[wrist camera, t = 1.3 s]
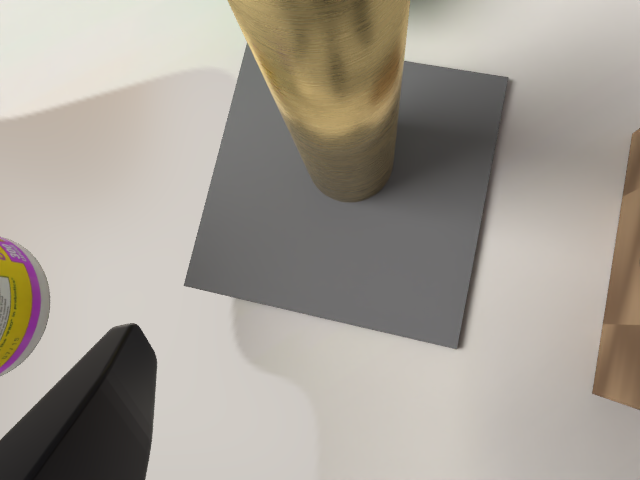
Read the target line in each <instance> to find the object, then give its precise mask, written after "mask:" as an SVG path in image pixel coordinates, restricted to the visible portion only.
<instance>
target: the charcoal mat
mask: <svg viewBox="0 0 640 480" xmlns="http://www.w3.org/2000/svg"><path fill="white" fill-rule="evenodd" d="M507 82H508V77H503V76H496V75H490V74H484V73H477V72H471V71H464V70H458V69H451V68H445V67H439V66H432V65H426V64H419V63H413V62H407V61H404V65H403V75H402V84H401V94H400V104H399V114H398V124H397V133H396V143H395V153H394V163H393V169H392V172H391V175H390V177H389V179H388V181H387V183H386V184H385V185H384V187H383V188H382V189H381V190H380V191H379V192H378V193H376V194H375V195H373V196H372V197H370V198H368V199H365V200H362V201H358V202H341V201H337V200H334V199H332V198H330V197H328V196H326V195H325V194H323V193H322V192H321V191H320V190H319V189H318V188H317V187H316V185H315V184H314V182H313V181H312V179H311V177H310V175H309V173H308V170H307V168H306V166H305V164H304V162H303V160H302V158H301V155H300V153H299V151H298V149H297V147H296V145H295V143H294V141H293V138H292V136H291V134H290V132H289V130H288V128H287V126H286V124H285V121H284V119H283V117H282V115H281V113H280V111H279V109H278V107H277V104H276V102H275V100H274V98H273V96H272V94H271V92H270V89H269V87H268V85H267V83H266V81H265V79H264V77H263V75H262V72H261V70H260V68H259V66H258V64H257V62H256V60H255V58H254V55H253V53H252V51H251V49H250V47H249V45H248V43H247V45H246V49H245V53H244V57H243V61H242V65H241V68H240V72H239V76H238V80H237V84H236V88H235V91H234V95H233V99H232V103H231V107H230V111H229V114H228V118H227V122H226V126H225V130H224V134H223V137H222V141H221V145H220V149H219V153H218V157H217V161H216V165H215V168H214V172H213V176H212V180H211V184H210V187H209V191H208V195H207V199H206V203H205V206H204V210H203V214H202V218H201V222H200V226H199V230H198V233H197V237H196V241H195V245H194V249H193V252H192V257H191V260H190V264H189V268H188V272H187V275H186V279H185V283H184V286H187V287H192V288H196V289H200V290H205V291H209V292H213V293H217V294H222V295H226V296H230V297H234V298H239V299H243V300H247V301H252V302H256V303H260V304H265V305H269V306H273V307H277V308H282V309H286V310H290V311H295V312H299V313H303V314H308V315H312V316H316V317H320V318H325V319H329V320H333V321H338V322H342V323H346V324H351V325H355V326H359V327H363V328H368V329H372V330H376V331H381V332H385V333H389V334H394V335H398V336H402V337H407V338H411V339H415V340H419V341H424V342H428V343H432V344H437V345H441V346H445V347H450V348H454V349H457V346H458V341H459V335H460V330H461V325H462V320H463V314H464V309H465V304H466V298H467V293H468V288H469V283H470V277H471V272H472V267H473V261H474V256H475V251H476V246H477V240H478V235H479V230H480V224H481V219H482V214H483V209H484V203H485V198H486V193H487V187H488V182H489V177H490V172H491V166H492V161H493V156H494V150H495V145H496V140H497V135H498V129H499V124H500V119H501V113H502V108H503V103H504V98H505V92H506V87H507Z"/></svg>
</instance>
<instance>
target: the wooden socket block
mask: <svg viewBox="0 0 640 480" xmlns="http://www.w3.org/2000/svg"><path fill="white" fill-rule="evenodd" d="M639 261H640V129H638V130H637V131H636V132H634V133H633V134H632V139H631V145H630V152H629V158H628V165H627V171H626V178H625V184H624V191H623V197H622V204H621V210H620V217H619V223H618V230H617V236H616V243H615V249H614V256H613V262H612V269H611V275H610V282H609V288H608V295H607V301H606V308H605V314H604V320H603V327H602V333H601V340H600V346H599V353H598V359H597V366H596V372H595V379H594V385H593V392H592V394H595V395H598V396H601V397H604V398H607V399H610V400H612V401H615V402H618V403H621V404H624V405H627V406H630V407H633V408H636V409H639V410H640V263H639Z"/></svg>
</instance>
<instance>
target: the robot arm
mask: <svg viewBox="0 0 640 480" xmlns="http://www.w3.org/2000/svg"><path fill="white" fill-rule="evenodd" d="M639 263H640V261H639ZM156 373H157V359H156V355H155V352H154V350H153V349H152V347H151V345H150V344H149V342H148V340H147V338H146V337H145V336H144V334H143V332H142V330H141V329H140V327H139V326H138V325H137V324H134V323H130V324H125V325H120V326H116V327H113V328H112V329H110V330H109V331H108V332H107V333H106V335H104V337H102V339H100V341H99V342H97V344H95V345H94V347H93V348H91V350H89V351H88V352H87V354H86V355H84V357H83V358H82V359H81V360H80V361H79V362H78V363H77V364H76V365H75V366H74V367H73V368H72V369H71V370H70V371H69V372H68V373H67V374H66V375H65V376H64V377H63V378H62V379H61V380H60V381H59V382H58V383H57V384H56V385H55V386H54V387H53V388H52V389H51V390H50V391H49V392H48V393H47V394H46V395H45V396H44V397H43V398H42V399H41V400H40V401H39V402H38V403H37V404H36V405H35V406H34V407H33V408H32V409H31V410H30V411H29V412H28V413H27V414H26V415H25V416H24V417H23V418H22V419H21V420H20V421H19V422H18V423H17V424H16V425H15V426H14V427H13V428H12V429H11V430H10V431H9V432H8V433H7V434H6V435H5V436H4V437H3V438H2V439H1V440H0V480H145V477H146V472H147V466H148V461H149V455H150V449H151V442H152V432H153V419H154V403H155V387H156Z"/></svg>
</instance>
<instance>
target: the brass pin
mask: <svg viewBox="0 0 640 480" xmlns="http://www.w3.org/2000/svg"><path fill="white" fill-rule="evenodd" d="M228 2H229V4H230V6H231V9H232V11H233V13H234V15H235V17H236V19H237V21H238V23H239V26H240V28H241V30H242V32H243V34H244V36H245V38H246V41H247V43H248V45H249V47H250V49H251V51H252V53H253V55H254V58H255V60H256V62H257V64H258V66H259V68H260V70H261V72H262V75H263V77H264V79H265V81H266V83H267V85H268V87H269V89H270V92H271V94H272V96H273V98H274V100H275V102H276V104H277V107H278V109H279V111H280V113H281V115H282V117H283V119H284V121H285V124H286V126H287V128H288V130H289V132H290V134H291V136H292V138H293V141H294V143H295V145H296V147H297V149H298V151H299V153H300V155H301V158H302V160H303V162H304V164H305V166H306V168H307V170H308V173H309V175H310V177H311V179H312V181H313V182H314V184H315V185H316V187H317V188H318V189H319V190H320V191H321V192H322V193H323V194H325V195H326V196H328V197H330V198H332V199H334V200H337V201H341V202H358V201H362V200H365V199H368V198H370V197H372V196H373V195H375V194H376V193H378V192H379V191H380V190H381V189H382V188H383V187H384V185H385V184H386V183H387V181H388V179H389V177H390V175H391V172H392V169H393V163H394V153H395V143H396V133H397V124H398V114H399V104H400V94H401V84H402V75H403V65H404V55H405V45H406V36H407V26H408V16H409V6H410V0H228Z"/></svg>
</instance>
